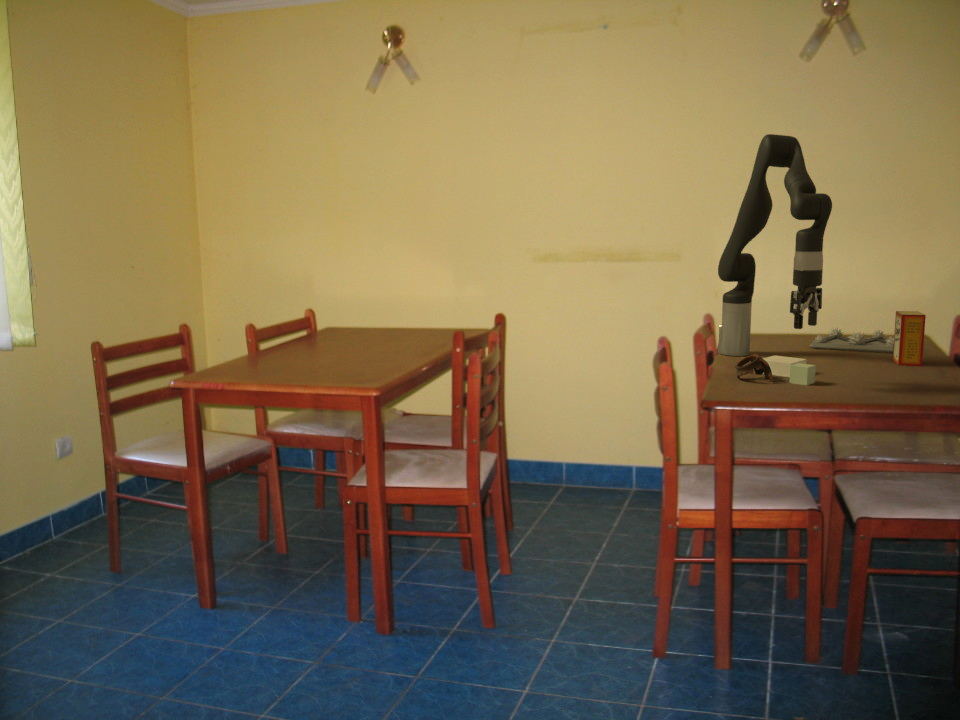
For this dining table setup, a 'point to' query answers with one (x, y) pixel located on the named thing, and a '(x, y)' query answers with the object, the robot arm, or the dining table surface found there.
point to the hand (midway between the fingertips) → (805, 327)
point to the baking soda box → (909, 338)
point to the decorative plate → (854, 342)
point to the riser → (782, 364)
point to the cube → (802, 374)
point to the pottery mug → (756, 363)
